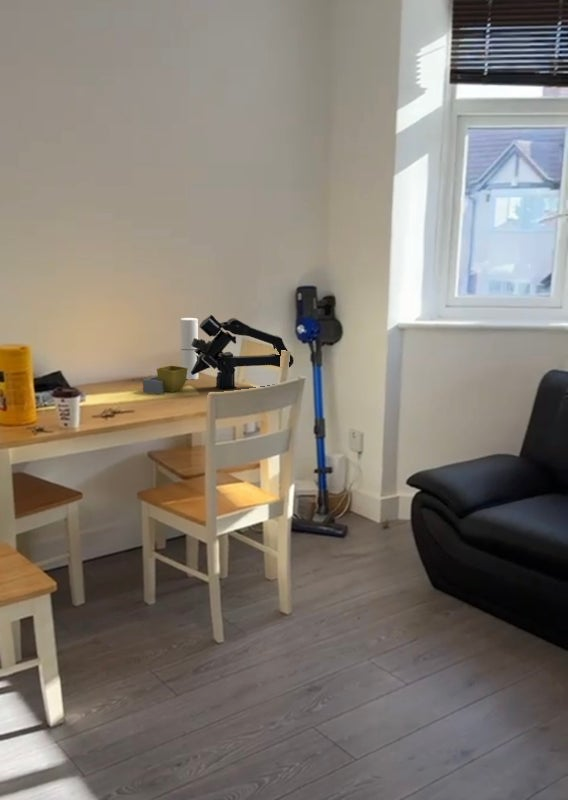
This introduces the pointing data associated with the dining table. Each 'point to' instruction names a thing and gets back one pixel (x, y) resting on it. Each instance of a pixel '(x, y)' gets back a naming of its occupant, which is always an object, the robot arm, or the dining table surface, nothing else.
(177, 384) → the flower pot
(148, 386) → the V-block
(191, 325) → the cylindrical container
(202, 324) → the robot arm
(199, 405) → the dining table surface
